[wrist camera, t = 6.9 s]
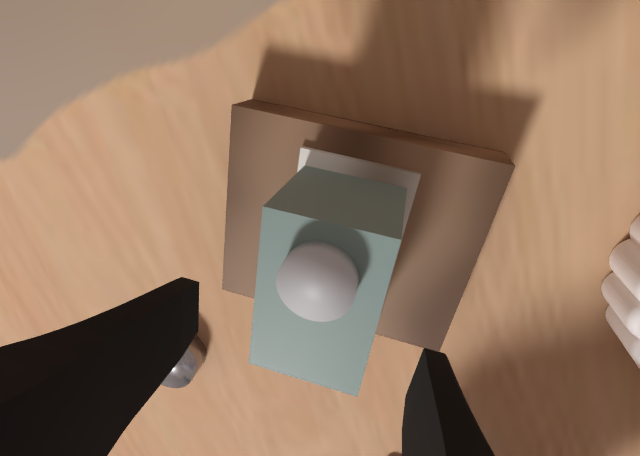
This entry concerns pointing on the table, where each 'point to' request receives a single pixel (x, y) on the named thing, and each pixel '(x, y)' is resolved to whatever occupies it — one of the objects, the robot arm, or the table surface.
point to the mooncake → (625, 292)
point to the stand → (378, 165)
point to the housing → (324, 275)
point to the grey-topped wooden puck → (187, 365)
